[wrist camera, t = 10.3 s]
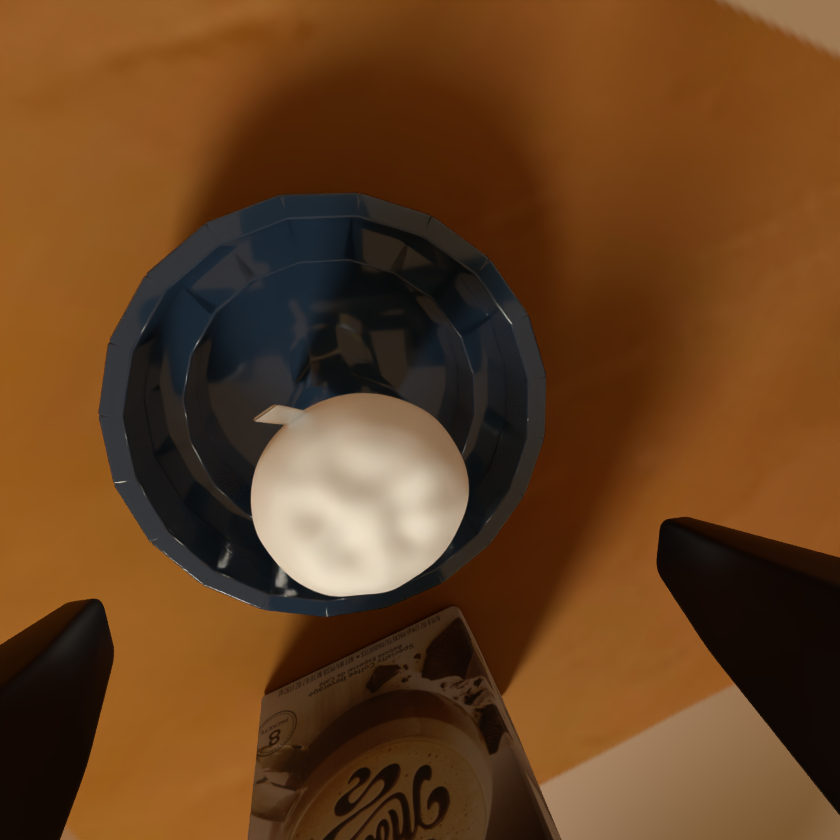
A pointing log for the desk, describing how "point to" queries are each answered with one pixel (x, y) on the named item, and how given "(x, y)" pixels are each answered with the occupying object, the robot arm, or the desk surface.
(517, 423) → the bowl
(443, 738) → the coffee box
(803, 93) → the desk surface
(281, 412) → the milkshake
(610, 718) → the desk surface
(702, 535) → the robot arm
